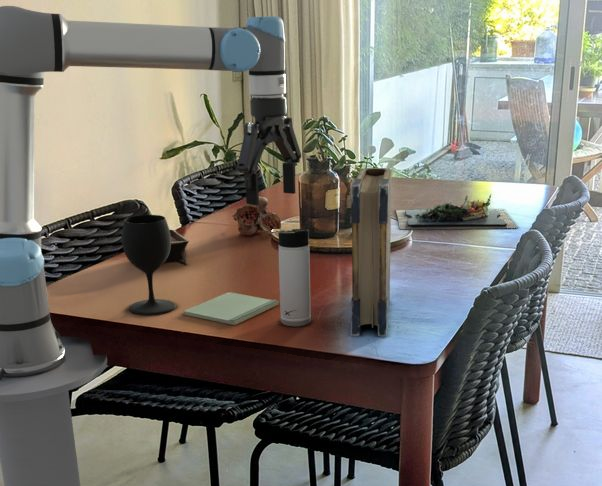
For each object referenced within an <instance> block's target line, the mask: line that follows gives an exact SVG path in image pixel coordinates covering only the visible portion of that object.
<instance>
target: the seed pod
mask: <svg viewBox="0 0 602 486" xmlns="http://www.w3.org/2000/svg"><path fill="white" fill-rule="evenodd" d="M268 205H269V201H268V198H266V197H263V196H260V195H259V205H253V204H245V205H242V206H241V207H238V208H237V209H236V212H235V213H234V215H232V218H233V220H234V221H237V231H239V233H240V235H241V236H245V237H247V236H249V237H250V236H252V235H254V234H255V233H257V232H258V231H260V232H263V231H264V232H266V233H268V234H275V233H276V234H277V233H278V232H279V231H276V232H271V230H272V229H280V230H281V228H282V222H281V218H280V217H279V215H278V214H277V213H275V212H273V211H268V207H269V206H268Z"/></svg>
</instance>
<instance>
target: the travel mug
mask: <svg viewBox="0 0 602 486" xmlns="http://www.w3.org/2000/svg"><path fill="white" fill-rule="evenodd" d="M277 233H278V237H277V238H278V244H277V246H278V277H279V279H278V280H279V308H280V309H279V310H280V311H279V313H280V323H281V324H282V325H284V326H287V327H295V328H297V327H303V326H308V325H309V324H310V323H311V320H312V319H311V265H310V263H311V262H310V260H311V259H310V257H311V256H310V254H311V253H310V230H309V229H307V228H293V229H291V230H285V229H284V230H280V231H279V232H277Z"/></svg>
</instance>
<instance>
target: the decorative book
mask: <svg viewBox="0 0 602 486" xmlns="http://www.w3.org/2000/svg"><path fill="white" fill-rule="evenodd" d="M349 190H350V194H349V196H350V197H349V198H350V200H349V203H350V208H349V209H350V213H349V214H350V217H349V219H350V224H351V241H352V242H351V260H352V261H351V272H352V273H351V279H352V280H351V281H352V283H351V284H352V285H351V288H352V290H351V295H352V296H351V299H350V336H351V337H360V335H361V331H362V327H363V326H364V325H371V328H372V329H373V328H374V326H376V327H377V337H382V338H384V337H385V338H386V337H387V334H388V329H389V328H388V327H389V312H390V310H389V309H390V303H391V298H390V297H391V238H392V237H391V235H392V234H391V232H392V231H391V229H392V228H391V227H392V224H391V223H392V169H390V168H386V167H367V168H366V167H365V168H362V169H360V171H359V172H358V175H357V177H356V178H353V179H352V181H351V183H350V189H349Z"/></svg>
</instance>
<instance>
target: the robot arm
mask: <svg viewBox="0 0 602 486" xmlns="http://www.w3.org/2000/svg"><path fill="white" fill-rule="evenodd" d="M284 25H285V24H284V21H283V19H282V18H281V17H280V16H278V15H275V16H274V15H273V16H272V15H271V16H248V18H247V19H246V24H245V26H243V27H216V26H215V27H211V26H209V27H208V26H194V25H193V26H191V25H188V26H187V25H174V24H173V25H171V24H151V23H132V22H131V23H129V22H112V21H111V22H109V21H88V20H69V19H66V18H65V17H64V16H63V15H62V13H50V12H42V11H35V10H30V9H27V8H23V7H20V6H15V5H1V6H0V380H2V378H20V377H29V376H34V375H39V374H42V373H46V372H49V371H51V370H53V369H55V368H57V367H59V366H60V365H62V364H63V363H64V361H65V350H64V347H63V345H62V343H61V341H60V339H59V337H61V335H60V333H59V332H58V331H57V330H56V329H55V327H54V326H53V323H52V320H51V313H50V311H51V310H50V304H49V296H48V290H47V282H46V275H45V258H44V255H43V253H42V226H41V225H40V224H39V223H38V222H37V221H36V220H35V147H36V146H35V145H36V143H35V142H36V141H35V138H36V137H35V136H36V135H35V134H36V132H35V131H36V128H35V126H36V95H37V93H38V92H39V91H40V90H42V89H43V88H44V78H45V74H44V73H53V72H55V73H64V72H65V71H66V70H67V69H68V68H69V67H87V68H88V67H90V68H91V67H92V68H96V67H97V68H120V69H121V68H126V69H127V68H128V69H162V70H163V69H164V70H195V71H196V70H197V71H198V70H199V71H200V70H201V71H223V72H232V73H243V72H247V71H248V86H249V89H248V91H249V92H248V93H249V95H250V96H252V97H251V98H250V99H249V107H250V115H251V116H252V117H254V123H252V122H246V123H245V124H244V134H243V135H244V136H243V140H242V144H241V148H240V152H239V156H238V161H237V164H236V171H238V172H239V173H242V174H244V188H245V199H246V205H248V204H253V205H259V196H260V191H259V173H258V172H256V170H257V167H258V165H259V164H260V161H261V158H262V155H263V153H264V151H265V149H266V147H267V146H268V145H269V144H272V143H274V145H275V147H277V149H278V151H279V153H280V155H281V156H282V158H283V160H284V162H282V183H283V184H282V185H283V187H282V189H283V192H282V193H284V194H290V195H294V194H296V164H299V163H300V162H301V159H302V152H301V148H300V146H299V143H298V140H297V136H296V134H295V130H294V128H293V118H292V116H291V117H290V116H286V115H287V112H288V111H287V98H286V96H284V95H285V94H286V93H287V87H286V86H287V85H286V83H287V82H286V35H285V26H284ZM58 336H59V337H58Z"/></svg>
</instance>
